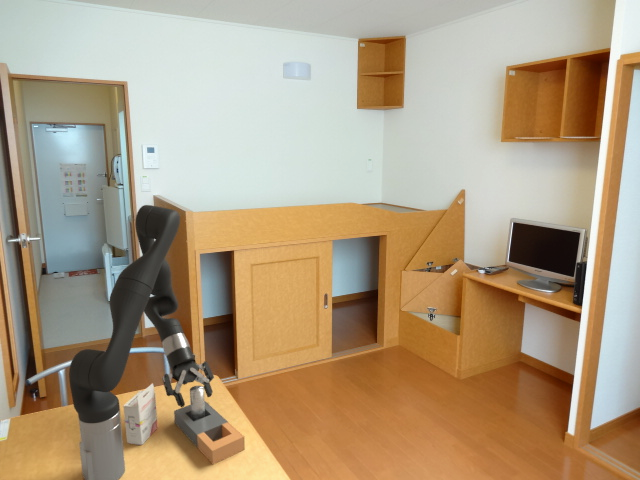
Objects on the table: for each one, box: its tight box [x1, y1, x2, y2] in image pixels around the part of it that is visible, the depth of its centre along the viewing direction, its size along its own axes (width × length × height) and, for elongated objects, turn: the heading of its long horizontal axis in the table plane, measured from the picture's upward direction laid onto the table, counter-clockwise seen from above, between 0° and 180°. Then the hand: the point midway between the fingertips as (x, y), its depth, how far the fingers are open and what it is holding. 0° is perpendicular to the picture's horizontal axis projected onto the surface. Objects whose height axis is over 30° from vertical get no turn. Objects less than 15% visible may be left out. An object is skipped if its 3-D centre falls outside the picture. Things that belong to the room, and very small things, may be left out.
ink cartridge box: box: [123, 383, 158, 446], centre depth 134 cm, size 9×5×15 cm, turn 168°
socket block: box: [173, 400, 246, 465], centre depth 135 cm, size 10×24×4 cm, turn 40°
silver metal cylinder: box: [189, 385, 206, 422], centre depth 139 cm, size 4×4×12 cm
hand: (196, 401), depth 139 cm, fingers open, 8 cm apart
